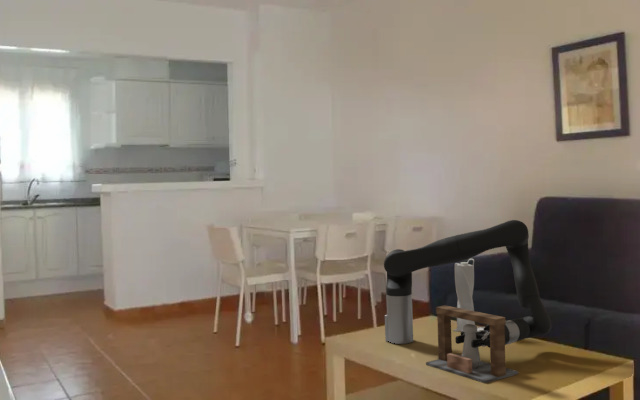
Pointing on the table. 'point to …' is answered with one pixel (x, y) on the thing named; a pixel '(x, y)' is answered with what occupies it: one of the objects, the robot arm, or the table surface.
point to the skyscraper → (464, 290)
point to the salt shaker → (467, 349)
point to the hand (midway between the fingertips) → (464, 342)
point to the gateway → (463, 364)
